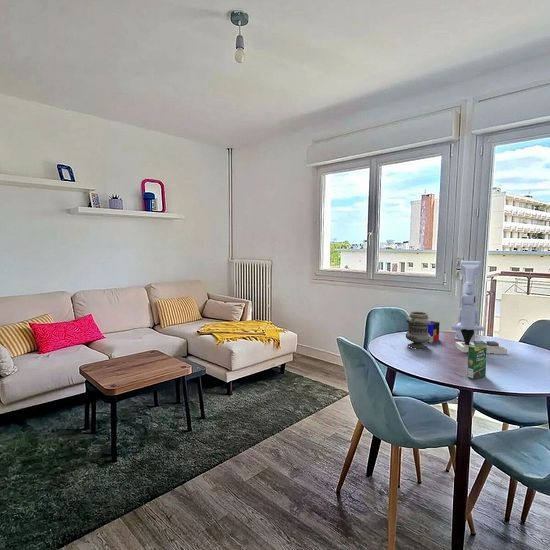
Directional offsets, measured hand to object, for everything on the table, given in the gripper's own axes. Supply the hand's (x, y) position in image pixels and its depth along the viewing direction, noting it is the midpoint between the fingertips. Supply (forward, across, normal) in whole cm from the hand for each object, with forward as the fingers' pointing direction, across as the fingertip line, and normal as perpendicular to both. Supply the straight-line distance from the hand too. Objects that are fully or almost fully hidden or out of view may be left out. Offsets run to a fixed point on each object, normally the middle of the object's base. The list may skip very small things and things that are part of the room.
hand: (466, 344), depth 180 cm
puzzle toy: (+3, -16, +16) cm, 23 cm away
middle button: (+1, +6, 0) cm, 6 cm away
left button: (+2, 0, 0) cm, 2 cm away
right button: (+1, +12, 0) cm, 12 cm away
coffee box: (+3, -10, -41) cm, 42 cm away
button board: (+2, +6, -1) cm, 7 cm away
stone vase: (+3, -24, 0) cm, 24 cm away
